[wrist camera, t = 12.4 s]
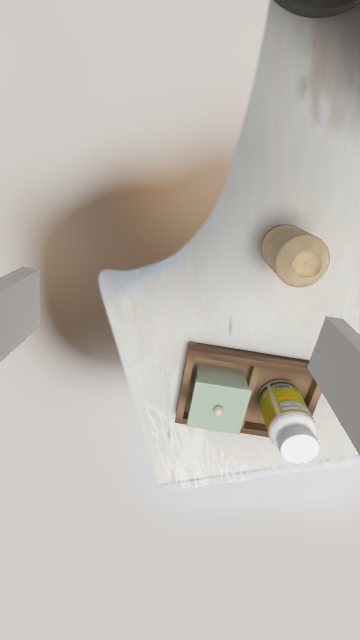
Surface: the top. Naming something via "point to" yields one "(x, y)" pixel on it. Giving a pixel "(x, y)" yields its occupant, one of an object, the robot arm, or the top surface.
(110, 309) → the top surface
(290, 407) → the pill bottle
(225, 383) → the trinket box
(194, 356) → the organizer tray
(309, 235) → the candle
